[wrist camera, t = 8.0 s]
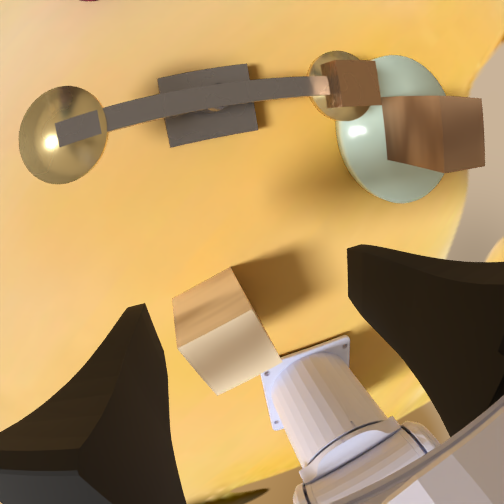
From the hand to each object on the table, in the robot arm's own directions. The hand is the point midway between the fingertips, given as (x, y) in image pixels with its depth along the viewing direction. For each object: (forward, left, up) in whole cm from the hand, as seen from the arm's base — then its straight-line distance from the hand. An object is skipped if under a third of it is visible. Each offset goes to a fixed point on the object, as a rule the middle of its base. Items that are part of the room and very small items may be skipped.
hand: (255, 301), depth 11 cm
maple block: (-6, +1, -10) cm, 12 cm away
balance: (+7, -1, -10) cm, 12 cm away
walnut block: (+4, -15, -9) cm, 18 cm away
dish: (+4, -15, -10) cm, 18 cm away
